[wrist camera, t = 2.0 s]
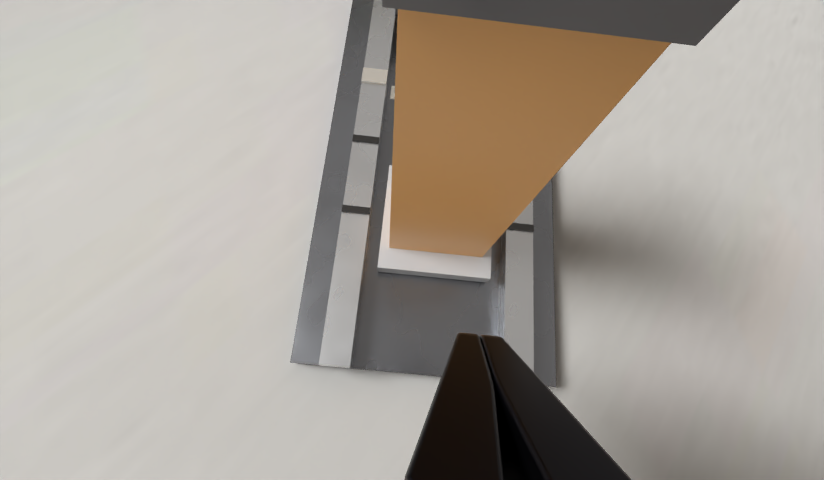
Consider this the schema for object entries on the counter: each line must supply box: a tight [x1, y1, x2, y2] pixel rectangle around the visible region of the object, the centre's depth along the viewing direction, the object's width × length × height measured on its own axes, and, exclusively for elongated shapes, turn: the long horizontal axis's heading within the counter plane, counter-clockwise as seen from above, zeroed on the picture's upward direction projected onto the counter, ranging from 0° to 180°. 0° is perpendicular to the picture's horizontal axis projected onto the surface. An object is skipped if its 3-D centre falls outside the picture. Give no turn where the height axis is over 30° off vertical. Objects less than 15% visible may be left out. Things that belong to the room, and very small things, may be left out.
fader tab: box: [377, 0, 739, 283], centre depth 12 cm, size 5×5×14 cm
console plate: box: [290, 0, 556, 387], centre depth 19 cm, size 20×11×3 cm, turn 175°
